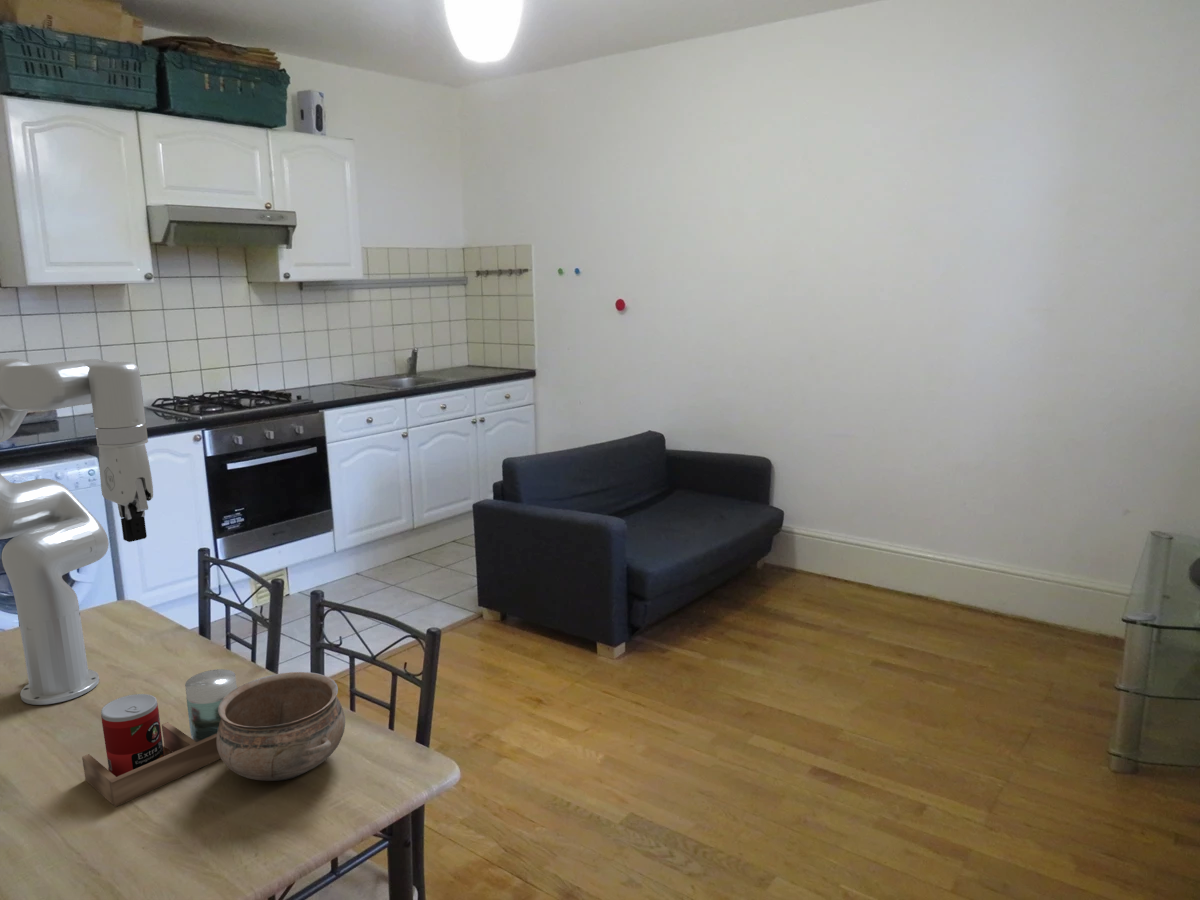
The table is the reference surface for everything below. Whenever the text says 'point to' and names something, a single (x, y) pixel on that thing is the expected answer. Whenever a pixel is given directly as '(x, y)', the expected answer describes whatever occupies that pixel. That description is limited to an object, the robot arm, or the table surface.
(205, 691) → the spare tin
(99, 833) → the table surface
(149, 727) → the canned food
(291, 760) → the cooking pot
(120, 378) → the robot arm
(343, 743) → the table surface
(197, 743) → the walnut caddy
